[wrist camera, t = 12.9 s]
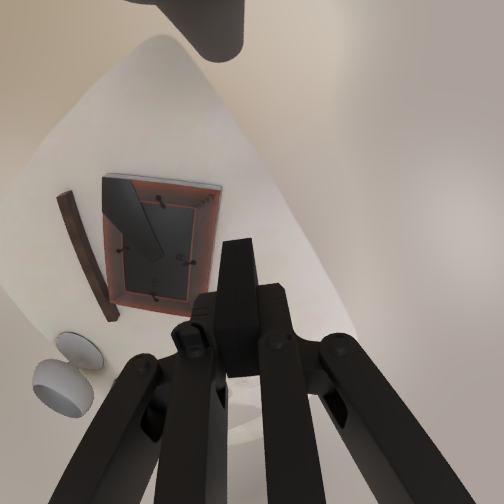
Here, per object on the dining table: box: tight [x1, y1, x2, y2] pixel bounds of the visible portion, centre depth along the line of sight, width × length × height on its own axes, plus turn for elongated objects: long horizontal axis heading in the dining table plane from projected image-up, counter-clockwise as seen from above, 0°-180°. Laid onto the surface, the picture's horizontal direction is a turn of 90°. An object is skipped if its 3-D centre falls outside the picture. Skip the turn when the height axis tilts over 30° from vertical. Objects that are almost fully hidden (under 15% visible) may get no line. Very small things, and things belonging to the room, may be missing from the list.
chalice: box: [33, 333, 103, 418], centre depth 47 cm, size 14×14×15 cm
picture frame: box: [102, 174, 222, 317], centre depth 41 cm, size 16×2×22 cm
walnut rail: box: [56, 191, 120, 322], centre depth 42 cm, size 24×2×2 cm, turn 8°
